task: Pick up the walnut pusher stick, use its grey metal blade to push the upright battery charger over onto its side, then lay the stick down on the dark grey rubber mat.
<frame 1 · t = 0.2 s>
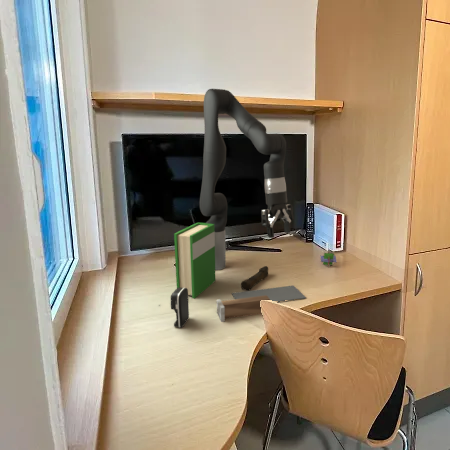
hand: (279, 235, 133), 22 cm above the table, tool pointing down, fingers open, 8 cm apart
battery charger: (180, 323, 117), on the table
hardback book: (197, 288, 143), on the table
tool mat: (268, 296, 134), on the table
geometric puzzle: (327, 266, 164), on the table
pusher stick: (245, 313, 122), on the table
dark brown bar: (255, 282, 148), on the table
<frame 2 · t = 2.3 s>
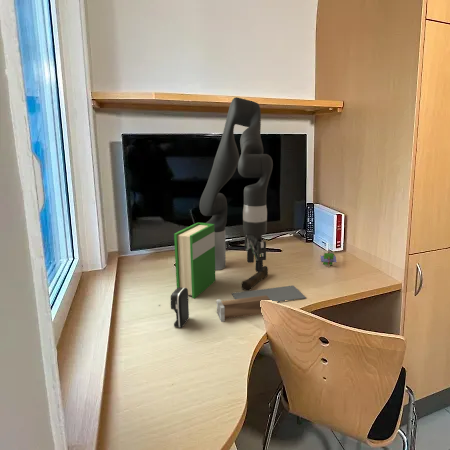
hand: (254, 266, 119), 16 cm above the table, tool pointing down, fingers open, 8 cm apart
nothing on the table moved.
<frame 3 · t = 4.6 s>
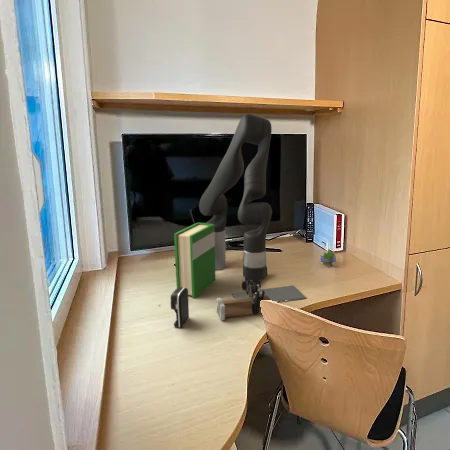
hand: (254, 310, 123), 1 cm above the table, tool pointing down, fingers closed on pusher stick, 3 cm apart
pusher stick: (245, 313, 122), on the table, touching gripper
everything else where it was.
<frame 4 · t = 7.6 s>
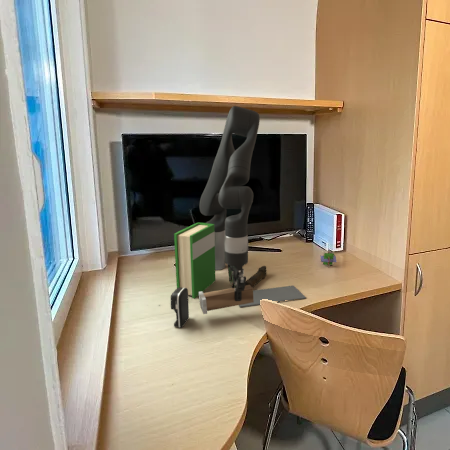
hand: (236, 298, 120), 6 cm above the table, tool pointing down, fingers closed on pusher stick, 3 cm apart
pusher stick: (229, 304, 120), point 4 cm above the table, touching gripper
everything else where it was.
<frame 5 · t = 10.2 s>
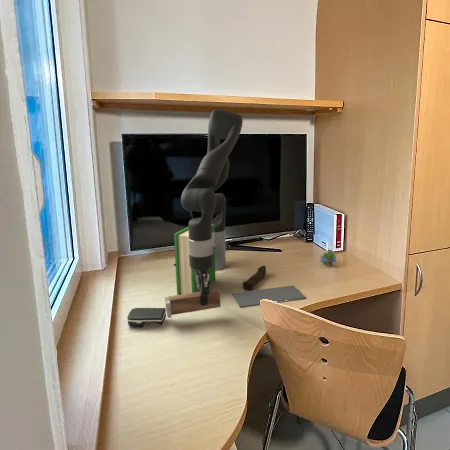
hand: (203, 302, 117), 6 cm above the table, tool pointing down, fingers closed on pusher stick, 3 cm apart
battery charger: (165, 317, 116), point 2 cm above the table, touching pusher stick
pusher stick: (195, 308, 117), point 4 cm above the table, touching battery charger, gripper
everything else where it was.
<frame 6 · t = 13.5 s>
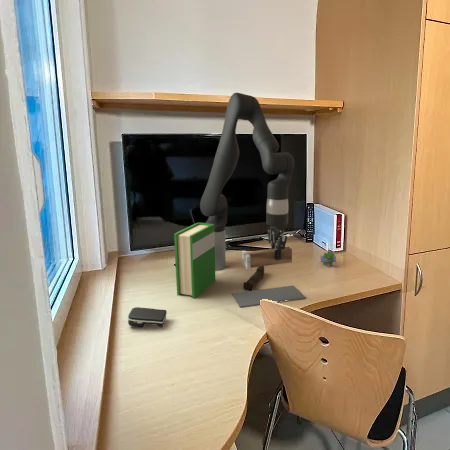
hand: (276, 257, 131), 15 cm above the table, tool pointing down, fingers closed on pusher stick, 3 cm apart
battery charger: (165, 320, 116), point 1 cm above the table
pusher stick: (269, 263, 131), point 13 cm above the table, touching gripper
everything else where it was.
when the fingers open (3 cm above the table, at t = 16.3 s): pusher stick stays where it is, resting on tool mat.
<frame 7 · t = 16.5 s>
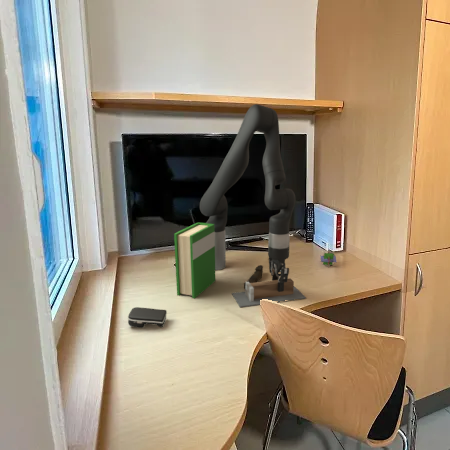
hand: (277, 288, 134), 3 cm above the table, tool pointing down, fingers open, 4 cm apart
pusher stick: (271, 294, 134), resting on tool mat
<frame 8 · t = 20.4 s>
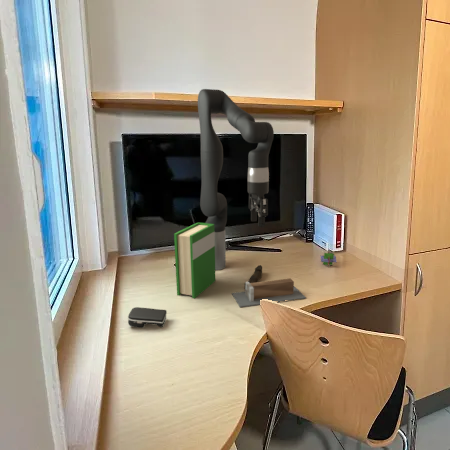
hand: (257, 223, 134), 26 cm above the table, tool pointing down, fingers open, 8 cm apart
at the end: battery charger tilted 85°; pusher stick inside the target area (0.7 cm from its centre), point 0.5 cm above the table; the gripper is holding nothing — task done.
